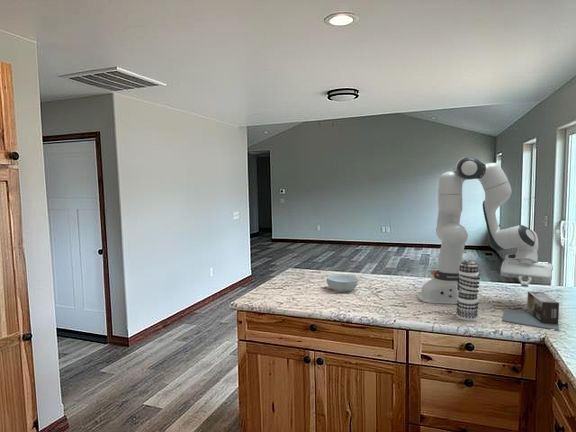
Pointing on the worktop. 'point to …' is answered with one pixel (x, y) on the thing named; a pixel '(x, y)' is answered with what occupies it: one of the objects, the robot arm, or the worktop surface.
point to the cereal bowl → (342, 282)
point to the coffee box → (543, 307)
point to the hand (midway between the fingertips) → (524, 285)
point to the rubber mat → (525, 319)
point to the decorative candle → (468, 290)
